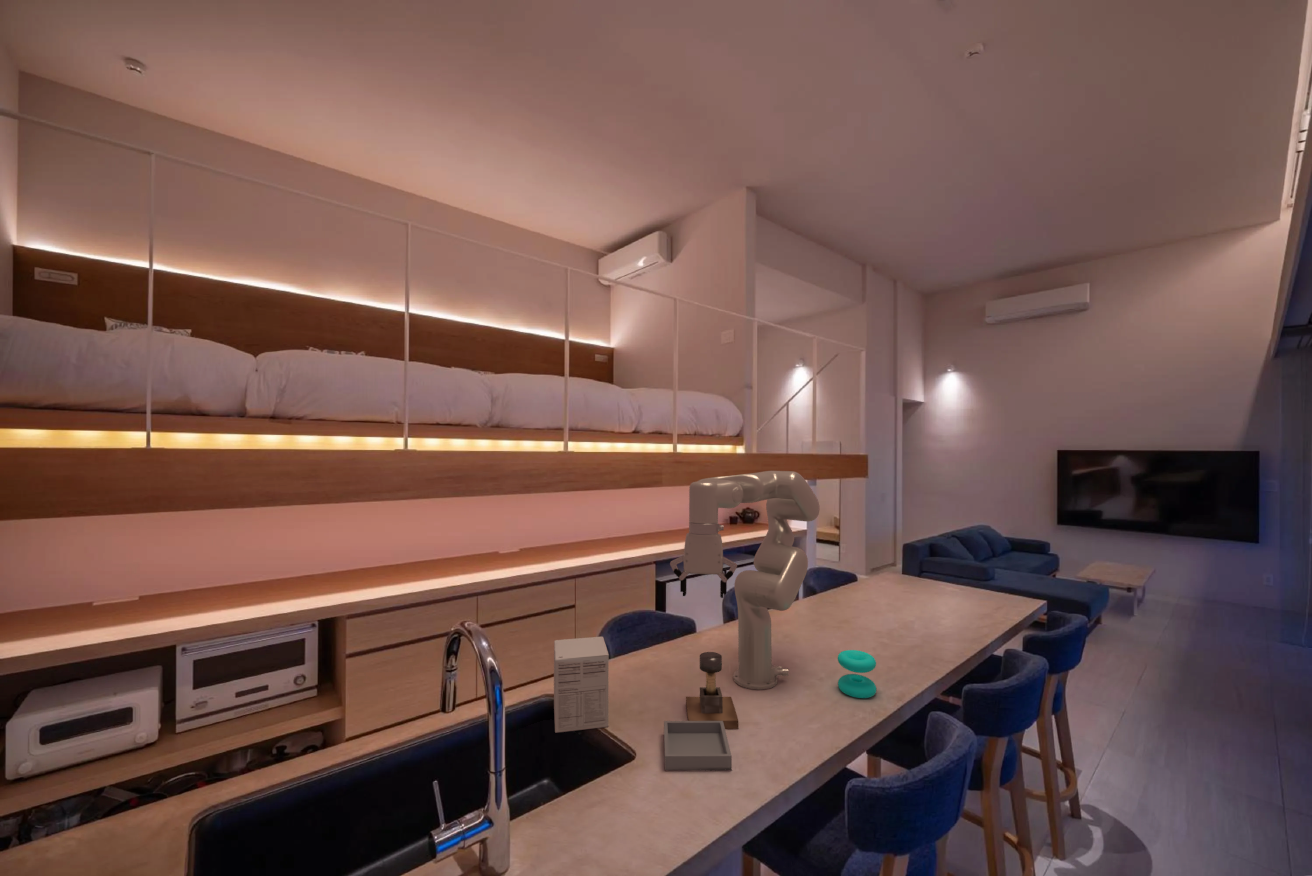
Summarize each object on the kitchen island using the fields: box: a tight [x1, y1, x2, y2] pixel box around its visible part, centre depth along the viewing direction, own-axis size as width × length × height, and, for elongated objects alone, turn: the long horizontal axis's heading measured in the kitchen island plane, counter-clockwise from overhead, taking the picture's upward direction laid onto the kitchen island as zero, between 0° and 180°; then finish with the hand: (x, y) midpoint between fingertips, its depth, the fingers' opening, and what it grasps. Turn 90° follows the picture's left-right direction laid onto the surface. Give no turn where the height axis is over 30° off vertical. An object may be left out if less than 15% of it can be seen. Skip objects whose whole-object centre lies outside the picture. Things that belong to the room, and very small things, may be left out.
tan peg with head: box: [699, 651, 723, 696], centre depth 130 cm, size 6×6×13 cm
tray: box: [663, 720, 733, 772], centre depth 115 cm, size 14×14×3 cm
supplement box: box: [553, 636, 610, 734], centre depth 130 cm, size 13×13×18 cm
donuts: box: [837, 649, 877, 699], centre depth 143 cm, size 10×10×10 cm
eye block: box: [685, 686, 740, 730], centre depth 130 cm, size 12×12×6 cm
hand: (703, 595), depth 133 cm, fingers open, 9 cm apart
